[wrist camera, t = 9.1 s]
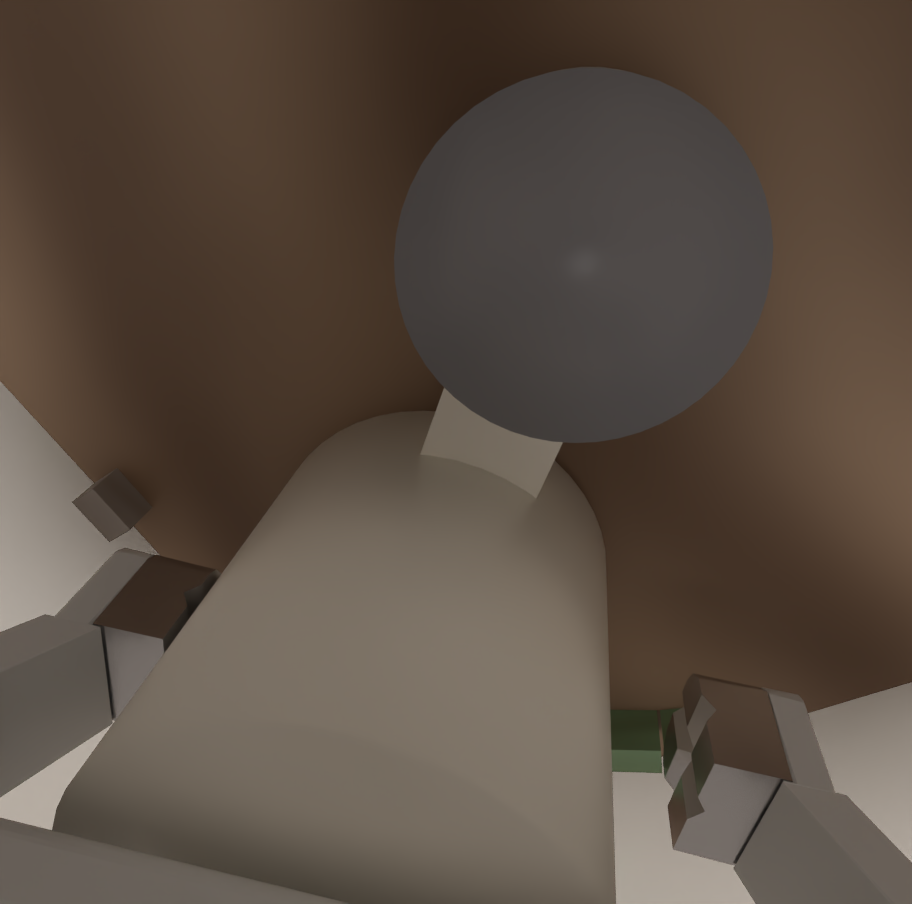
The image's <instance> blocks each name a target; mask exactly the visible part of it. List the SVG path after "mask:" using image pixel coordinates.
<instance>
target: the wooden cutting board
mask: <svg viewBox="0 0 912 904" xmlns="http://www.w3.org/2000/svg"><path fill="white" fill-rule="evenodd" d="M576 67H606V68H612V69H619V70H624V71H628V72H632V73H636V74H639V75H642V76H646V77H649V78H652V79H655V80H659V81H661V82H663V83H665V84H667V85H669V86H671V87H673V88H675V89H677V90H680V91H682V92H684V93H685V94H687V95H688V96H690V97H691V98H693V99H694V100H695V101H697V102H698V103H700V104H701V105H703V106H704V107H706V108H707V109H708V110H709V111H710V112H711V113H712V114H713V115H714V116H715V117H717V118H718V119H719V120H720V121H721V122H722V123H723V124H724V125H725V126H726V127H727V128H728V129H729V131H730V132H731V133H732V135H733V136H734V137H735V138H736V140H737V141H738V142H739V143H740V145H741V146H742V147H743V149H744V151H745V152H746V154H747V156H748V158H749V159H750V161H751V163H752V165H753V166H754V168H755V170H756V172H757V175H758V177H759V180H760V183H761V185H762V188H763V190H764V193H765V196H766V200H767V204H768V209H769V213H770V218H771V225H772V237H773V259H772V273H771V278H770V283H769V289H768V294H767V298H766V301H765V304H764V307H763V310H762V313H761V316H760V319H759V321H758V323H757V325H756V327H755V329H754V332H753V334H752V336H751V338H750V340H749V342H748V344H747V345H746V347H745V348H744V350H743V351H742V353H741V354H740V356H739V357H738V359H737V360H736V362H735V363H734V365H733V366H732V367H731V368H730V369H729V370H728V372H727V373H726V374H725V375H724V376H723V377H722V379H721V380H720V381H719V382H718V383H717V384H716V385H715V386H714V387H713V388H712V389H711V390H709V391H708V392H707V393H706V394H705V395H704V396H703V397H702V398H701V399H699V400H698V401H697V402H695V403H694V404H692V405H691V406H690V407H688V408H687V409H685V410H684V411H683V412H681V413H679V414H678V415H676V416H674V417H672V418H670V419H669V420H667V421H665V422H663V423H661V424H659V425H657V426H654V427H652V428H649V429H647V430H644V431H642V432H639V433H636V434H632V435H629V436H625V437H622V438H618V439H612V440H606V441H600V442H586V443H566V442H563V443H562V445H561V447H560V450H559V452H558V454H557V456H556V458H555V461H556V462H557V463H558V464H559V465H560V466H561V467H562V468H563V469H564V470H565V471H566V472H567V473H568V474H569V476H570V477H571V478H572V479H573V480H574V482H575V483H576V484H577V486H578V487H579V488H580V490H581V491H582V492H583V494H584V495H585V497H586V499H587V501H588V502H589V504H590V506H591V508H592V510H593V511H594V514H595V516H596V519H597V521H598V524H599V527H600V529H601V532H602V537H603V542H604V547H605V555H606V580H607V614H608V648H609V682H610V716H611V750H612V772H647V773H662V763H661V757H662V756H663V754H664V743H665V737H666V731H667V728H668V725H669V722H670V720H671V717H672V714H673V713H674V712H676V711H677V710H679V709H681V708H683V707H684V702H683V695H682V691H683V688H684V686H685V684H686V682H687V679H688V678H689V677H690V676H691V675H692V674H693V673H694V674H699V675H703V676H708V677H713V678H718V679H723V680H727V681H732V682H737V683H742V684H746V685H751V686H756V687H759V688H768V689H773V690H778V691H783V692H788V693H792V694H797V695H799V696H800V697H801V698H802V700H803V701H804V703H805V706H806V709H807V712H808V713H809V712H813V711H816V710H820V709H823V708H826V707H830V706H833V705H836V704H840V703H843V702H846V701H850V700H853V699H856V698H860V697H863V696H866V695H870V694H873V693H876V692H880V691H883V690H887V689H890V688H893V687H897V686H900V685H903V684H907V683H910V682H912V0H0V381H1V382H2V383H3V384H4V386H5V387H6V388H7V389H8V390H9V391H10V392H11V393H12V394H13V395H14V396H15V398H16V399H17V400H18V401H19V402H20V403H21V404H22V405H23V406H24V407H25V408H26V410H27V411H28V412H29V413H30V414H31V415H32V416H33V417H34V418H35V419H36V420H37V421H38V423H39V424H40V425H41V426H42V427H43V428H44V429H45V430H46V431H47V432H48V433H49V435H50V436H51V437H52V438H53V439H54V440H55V441H56V442H57V443H58V444H59V445H60V447H61V448H62V449H63V450H64V451H65V452H66V453H67V454H68V455H69V456H70V457H71V459H72V460H73V461H74V462H75V463H76V464H77V465H78V466H79V467H80V468H81V469H82V471H83V472H84V473H85V474H86V475H87V476H88V477H89V478H90V479H91V480H92V481H93V482H94V484H93V485H92V486H91V487H90V488H88V489H87V490H86V491H85V492H84V493H82V494H81V495H80V496H79V497H78V498H77V499H75V500H74V501H73V502H72V503H73V504H74V505H75V506H76V507H77V508H78V509H79V510H80V511H81V512H82V513H83V514H84V515H85V516H86V517H87V519H88V520H89V521H90V522H91V523H92V524H93V525H94V526H95V527H96V528H97V529H98V530H99V531H100V532H101V533H102V535H103V536H104V537H105V538H106V539H107V540H108V541H109V542H110V541H112V540H114V539H115V538H117V537H119V536H120V535H122V534H124V533H125V532H127V531H129V530H130V529H131V528H132V527H133V526H134V527H135V528H136V529H137V530H138V532H139V533H140V534H141V535H142V536H143V537H144V538H145V539H146V540H147V541H148V542H149V543H150V545H151V546H152V547H153V548H154V549H155V550H156V551H157V552H158V553H159V554H160V555H161V556H163V557H167V558H172V559H176V560H180V561H184V562H188V563H192V564H196V565H200V566H204V567H208V568H213V569H217V570H218V571H219V572H220V573H221V574H222V573H223V571H224V570H225V568H226V567H227V566H228V564H229V563H230V562H231V560H232V559H233V557H234V556H235V555H236V553H237V552H238V551H239V549H240V548H241V546H242V545H243V544H244V542H245V541H246V540H247V538H248V537H249V535H250V534H251V533H252V531H253V530H254V528H255V527H256V526H257V524H258V523H259V522H260V520H261V519H262V517H263V516H264V515H265V513H266V512H267V511H268V509H269V508H270V506H271V505H272V504H273V502H274V501H275V499H276V498H277V497H278V495H279V494H280V493H281V491H282V490H283V488H284V487H285V486H286V484H287V483H288V482H289V480H290V479H291V477H292V476H293V475H294V473H295V472H296V470H297V469H298V468H299V467H300V465H301V464H302V463H303V461H304V460H305V459H306V458H307V456H308V455H309V454H311V453H312V452H313V451H314V450H315V449H316V448H317V447H318V446H319V445H320V444H321V443H323V442H324V441H325V440H327V439H328V438H330V437H331V436H333V435H334V434H336V433H337V432H339V431H341V430H343V429H345V428H347V427H349V426H351V425H353V424H355V423H358V422H361V421H364V420H367V419H370V418H373V417H376V416H380V415H386V414H391V413H396V412H407V411H436V409H437V406H438V403H439V401H440V398H441V395H442V392H443V389H444V387H443V386H442V385H441V384H440V383H439V382H438V380H437V379H436V378H435V376H434V375H433V374H432V373H431V371H430V370H429V369H428V368H427V366H426V365H425V363H424V362H423V360H422V358H421V357H420V355H419V353H418V352H417V350H416V348H415V347H414V344H413V342H412V340H411V338H410V335H409V333H408V331H407V329H406V326H405V323H404V320H403V317H402V313H401V310H400V307H399V303H398V297H397V291H396V285H395V271H394V253H395V241H396V233H397V228H398V223H399V219H400V214H401V210H402V207H403V204H404V202H405V199H406V196H407V193H408V191H409V188H410V186H411V184H412V182H413V180H414V178H415V176H416V174H417V172H418V170H419V168H420V166H421V164H422V163H423V161H424V160H425V158H426V157H427V156H428V154H429V153H430V151H431V150H432V148H433V147H434V146H435V144H436V143H437V142H438V141H439V139H440V138H441V137H442V136H443V135H444V134H445V133H446V132H447V131H448V130H449V128H450V127H451V126H452V125H453V124H454V123H455V122H456V121H458V120H459V119H460V118H461V117H462V116H463V115H465V114H466V113H467V112H468V111H469V110H471V109H472V108H473V107H474V106H476V105H477V104H479V103H480V102H482V101H484V100H485V99H487V98H488V97H490V96H491V95H493V94H495V93H496V92H498V91H500V90H502V89H504V88H507V87H509V86H511V85H513V84H515V83H518V82H520V81H522V80H525V79H529V78H532V77H535V76H539V75H542V74H545V73H549V72H553V71H558V70H563V69H569V68H576Z"/></svg>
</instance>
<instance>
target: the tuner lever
mask: <svg viewBox="0 0 912 904" xmlns="http://www.w3.org/2000/svg"><path fill="white" fill-rule="evenodd" d="M772 259H773V237H772V225H771V218H770V213H769V209H768V204H767V200H766V196H765V193H764V190H763V188H762V185H761V183H760V180H759V177H758V175H757V172H756V170H755V168H754V166H753V165H752V163H751V161H750V159H749V158H748V156H747V154H746V152H745V151H744V149H743V147H742V146H741V145H740V143H739V142H738V141H737V140H736V138H735V137H734V136H733V135H732V133H731V132H730V131H729V129H728V128H727V127H726V126H725V125H724V124H723V123H722V122H721V121H720V120H719V119H718V118H717V117H715V116H714V115H713V114H712V113H711V112H710V111H709V110H708V109H707V108H706V107H704V106H703V105H701V104H700V103H698V102H697V101H695V100H694V99H693V98H691V97H690V96H688V95H687V94H685V93H684V92H682V91H680V90H677V89H675V88H673V87H671V86H669V85H667V84H665V83H663V82H661V81H659V80H655V79H652V78H649V77H646V76H642V75H639V74H636V73H632V72H628V71H624V70H619V69H612V68H606V67H576V68H569V69H563V70H558V71H553V72H549V73H545V74H542V75H539V76H535V77H532V78H529V79H525V80H522V81H520V82H518V83H515V84H513V85H511V86H509V87H507V88H504V89H502V90H500V91H498V92H496V93H495V94H493V95H491V96H490V97H488V98H487V99H485V100H484V101H482V102H480V103H479V104H477V105H476V106H474V107H473V108H472V109H471V110H469V111H468V112H467V113H466V114H465V115H463V116H462V117H461V118H460V119H459V120H458V121H456V122H455V123H454V124H453V125H452V126H451V127H450V128H449V130H448V131H447V132H446V133H445V134H444V135H443V136H442V137H441V138H440V139H439V141H438V142H437V143H436V144H435V146H434V147H433V148H432V150H431V151H430V153H429V154H428V156H427V157H426V158H425V160H424V161H423V163H422V164H421V166H420V168H419V170H418V172H417V174H416V176H415V178H414V180H413V182H412V184H411V186H410V188H409V191H408V193H407V196H406V199H405V202H404V204H403V207H402V210H401V214H400V219H399V223H398V228H397V233H396V241H395V253H394V271H395V285H396V291H397V297H398V303H399V307H400V310H401V313H402V317H403V320H404V323H405V326H406V329H407V331H408V333H409V335H410V338H411V340H412V342H413V344H414V347H415V348H416V350H417V352H418V353H419V355H420V357H421V358H422V360H423V362H424V363H425V365H426V366H427V368H428V369H429V370H430V371H431V373H432V374H433V375H434V376H435V378H436V379H437V380H438V382H439V383H440V384H441V385H442V386H443V387H444V389H443V392H442V395H441V398H440V401H439V403H438V406H437V409H436V411H407V412H396V413H391V414H386V415H380V416H376V417H373V418H370V419H367V420H364V421H361V422H358V423H355V424H353V425H351V426H349V427H347V428H345V429H343V430H341V431H339V432H337V433H336V434H334V435H333V436H331V437H330V438H328V439H327V440H325V441H324V442H323V443H321V444H320V445H319V446H318V447H317V448H316V449H315V450H314V451H313V452H312V453H311V454H309V455H308V456H307V458H306V459H305V460H304V461H303V463H302V464H301V465H300V467H299V468H298V469H297V470H296V472H295V473H294V475H293V476H292V477H291V479H290V480H289V482H288V483H287V484H286V486H285V487H284V488H283V490H282V491H281V493H280V494H279V495H278V497H277V498H276V499H275V501H274V502H273V504H272V505H271V506H270V508H269V509H268V511H267V512H266V513H265V515H264V516H263V517H262V519H261V520H260V522H259V523H258V524H257V526H256V527H255V528H254V530H253V531H252V533H251V534H250V535H249V537H248V538H247V540H246V541H245V542H244V544H243V545H242V546H241V548H240V549H239V551H238V552H237V553H236V555H235V556H234V557H233V559H232V560H231V562H230V563H229V564H228V566H227V567H226V568H225V570H224V571H223V573H222V574H221V575H220V577H219V578H218V580H217V581H216V582H215V584H214V585H213V586H212V588H211V589H210V591H209V592H208V593H207V595H206V596H205V597H204V599H203V600H202V602H201V603H200V604H199V606H198V607H197V609H196V610H195V611H194V613H193V614H192V615H191V617H190V618H189V620H188V621H187V622H186V624H185V625H184V626H183V628H182V629H181V631H180V632H179V633H178V635H177V636H176V638H175V639H174V640H173V642H172V643H171V644H170V646H169V647H168V649H167V650H166V651H165V653H164V654H163V655H162V657H161V658H160V660H159V661H158V662H157V664H156V665H155V667H154V668H153V669H152V671H151V672H150V673H149V675H148V676H147V678H146V679H145V680H144V682H143V683H142V684H141V686H140V687H139V689H138V690H137V691H136V693H135V694H134V696H133V697H132V698H131V700H130V701H129V702H128V704H127V705H126V707H125V708H124V709H123V711H122V712H121V713H120V715H119V716H118V718H117V719H116V720H115V722H114V723H113V725H112V726H111V727H110V729H109V730H108V731H107V733H106V734H105V736H104V737H103V738H102V740H101V741H100V742H99V744H98V745H97V747H96V748H95V749H94V751H93V752H92V754H91V755H90V756H89V758H88V759H87V760H86V762H85V763H84V765H83V766H82V767H81V769H80V770H79V771H78V773H77V774H76V776H75V777H74V778H73V780H72V781H71V782H70V784H69V785H68V787H67V788H66V790H65V792H64V794H63V796H62V798H61V800H60V802H59V805H58V807H57V809H56V814H55V819H54V823H53V828H52V831H56V832H61V833H65V834H69V835H73V836H77V837H81V838H85V839H89V840H93V841H97V842H101V843H106V844H110V845H114V846H118V847H122V848H126V849H130V850H134V851H138V852H142V853H146V854H150V855H155V856H159V857H163V858H167V859H171V860H175V861H179V862H183V863H187V864H191V865H195V866H200V867H204V868H208V869H212V870H216V871H220V872H224V873H228V874H232V875H236V876H240V877H244V878H249V879H253V880H257V881H261V882H265V883H269V884H273V885H277V886H281V887H285V888H289V889H293V890H297V891H301V892H305V893H310V894H314V895H318V896H322V897H326V898H330V899H334V900H338V901H342V902H346V903H350V904H616V887H615V853H614V819H613V785H612V750H611V716H610V682H609V648H608V614H607V580H606V555H605V547H604V542H603V537H602V532H601V529H600V527H599V524H598V521H597V519H596V516H595V514H594V511H593V510H592V508H591V506H590V504H589V502H588V501H587V499H586V497H585V495H584V494H583V492H582V491H581V490H580V488H579V487H578V486H577V484H576V483H575V482H574V480H573V479H572V478H571V477H570V476H569V474H568V473H567V472H566V471H565V470H564V469H563V468H562V467H561V466H560V465H559V464H558V463H557V462H556V461H555V458H556V456H557V454H558V452H559V450H560V447H561V445H562V443H563V442H566V443H586V442H600V441H606V440H612V439H618V438H622V437H625V436H629V435H632V434H636V433H639V432H642V431H644V430H647V429H649V428H652V427H654V426H657V425H659V424H661V423H663V422H665V421H667V420H669V419H670V418H672V417H674V416H676V415H678V414H679V413H681V412H683V411H684V410H685V409H687V408H688V407H690V406H691V405H692V404H694V403H695V402H697V401H698V400H699V399H701V398H702V397H703V396H704V395H705V394H706V393H707V392H708V391H709V390H711V389H712V388H713V387H714V386H715V385H716V384H717V383H718V382H719V381H720V380H721V379H722V377H723V376H724V375H725V374H726V373H727V372H728V370H729V369H730V368H731V367H732V366H733V365H734V363H735V362H736V360H737V359H738V357H739V356H740V354H741V353H742V351H743V350H744V348H745V347H746V345H747V344H748V342H749V340H750V338H751V336H752V334H753V332H754V329H755V327H756V325H757V323H758V321H759V319H760V316H761V313H762V310H763V307H764V304H765V301H766V298H767V294H768V289H769V283H770V278H771V273H772Z"/></svg>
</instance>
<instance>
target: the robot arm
mask: <svg viewBox="0 0 912 904" xmlns="http://www.w3.org/2000/svg"><path fill="white" fill-rule="evenodd" d="M220 575H221V573H220V572H219V571H218V570H217V569H213V568H208V567H204V566H200V565H196V564H192V563H188V562H184V561H180V560H176V559H172V558H167V557H163V556H159V555H152V554H148V553H144V552H140V551H136V550H132V549H128V548H123V549H121V550H118V551H116V552H115V553H114V554H113V555H112V556H111V557H110V558H109V559H108V560H107V561H106V562H105V563H104V564H103V565H102V567H101V568H100V569H99V570H98V571H97V572H96V573H95V574H94V575H93V576H92V577H91V578H90V579H89V580H88V581H87V582H86V584H85V585H84V586H83V587H82V588H81V589H80V590H79V591H78V592H77V593H76V594H75V595H74V596H73V597H72V598H71V600H70V601H69V602H68V603H67V604H66V605H65V606H64V607H63V608H62V609H61V610H60V611H59V612H58V613H57V614H56V615H55V616H50V615H42V616H40V617H37V618H35V619H32V620H30V621H27V622H25V623H22V624H20V625H17V626H15V627H12V628H10V629H7V630H5V631H2V632H0V797H1V796H3V795H4V794H6V793H7V792H9V791H11V790H12V789H14V788H15V787H17V786H18V785H20V784H21V783H23V782H24V781H26V780H27V779H29V778H30V777H32V776H33V775H35V774H36V773H38V772H40V771H41V770H43V769H44V768H46V767H47V766H49V765H50V764H52V763H53V762H55V761H56V760H58V759H59V758H61V757H62V756H64V755H65V754H67V753H69V752H70V751H72V750H73V749H75V748H76V747H78V746H79V745H81V744H82V743H84V742H85V741H87V740H88V739H90V738H91V737H93V736H94V735H96V734H97V733H99V732H101V731H102V730H104V729H105V728H107V727H108V726H110V725H111V724H112V723H113V722H112V720H114V721H115V720H116V719H117V718H118V716H119V715H120V713H121V712H122V711H123V709H124V708H125V707H126V705H127V704H128V702H129V701H130V700H131V698H132V697H133V696H134V694H135V693H136V691H137V690H138V689H139V687H140V686H141V684H142V683H143V682H144V680H145V679H146V678H147V676H148V675H149V673H150V672H151V671H152V669H153V668H154V667H155V665H156V664H157V662H158V661H159V660H160V658H161V657H162V655H163V654H164V653H165V651H166V650H167V649H168V647H169V646H170V644H171V643H172V642H173V640H174V639H175V638H176V636H177V635H178V633H179V632H180V631H181V629H182V628H183V626H184V625H185V624H186V622H187V621H188V620H189V618H190V617H191V615H192V614H193V613H194V611H195V610H196V609H197V607H198V606H199V604H200V603H201V602H202V600H203V599H204V597H205V596H206V595H207V593H208V592H209V591H210V589H211V588H212V586H213V585H214V584H215V582H216V581H217V580H218V578H219V577H220ZM682 695H683V702H684V707H683V708H681V709H679V710H677V711H676V712H674V713H673V714H672V717H671V720H670V722H669V725H668V728H667V731H666V737H665V743H664V754H663V764H664V775H665V779H666V780H667V782H668V783H669V784H670V786H671V787H672V788H673V790H674V793H673V795H672V798H671V800H670V802H669V804H668V812H669V820H670V829H671V837H672V845H673V849H674V850H677V851H681V852H685V853H689V854H693V855H696V856H700V857H704V858H708V859H712V860H716V861H719V862H723V863H727V864H731V865H735V867H734V870H735V871H736V873H737V875H738V876H739V878H740V879H741V881H742V883H743V884H744V886H745V887H746V889H747V890H748V892H749V894H750V895H751V897H752V898H753V900H754V902H755V903H756V904H912V863H911V862H910V860H909V859H908V858H907V857H906V856H905V855H904V854H903V853H902V852H901V851H900V850H899V849H898V848H897V847H896V846H895V845H894V844H893V843H892V842H891V841H890V840H889V839H888V838H887V837H886V836H885V835H884V834H883V833H882V832H881V831H880V830H879V829H878V827H877V826H876V825H875V824H874V823H873V822H872V821H871V820H870V819H869V818H868V817H867V816H866V815H865V814H864V813H863V812H862V811H861V810H860V809H859V808H858V807H857V806H856V805H855V804H854V803H853V802H852V801H851V800H850V799H849V798H848V797H847V796H846V795H843V794H839V793H835V790H834V787H833V784H832V781H831V779H830V776H829V773H828V770H827V767H826V764H825V761H824V758H823V755H822V752H821V750H820V747H819V744H818V741H817V738H816V735H815V732H814V729H813V726H812V724H811V721H810V718H809V715H808V712H807V709H806V706H805V703H804V701H803V700H802V698H801V697H800V696H799V695H797V694H792V693H788V692H783V691H778V690H773V689H768V688H759V687H756V686H751V685H746V684H742V683H737V682H732V681H727V680H723V679H718V678H713V677H708V676H703V675H699V674H694V673H693V674H692V675H691V676H690V677H689V678H688V679H687V682H686V684H685V686H684V688H683V691H682ZM0 904H350V903H346V902H342V901H338V900H334V899H330V898H326V897H322V896H318V895H314V894H310V893H305V892H301V891H297V890H293V889H289V888H285V887H281V886H277V885H273V884H269V883H265V882H261V881H257V880H253V879H249V878H244V877H240V876H236V875H232V874H228V873H224V872H220V871H216V870H212V869H208V868H204V867H200V866H195V865H191V864H187V863H183V862H179V861H175V860H171V859H167V858H163V857H159V856H155V855H150V854H146V853H142V852H138V851H134V850H130V849H126V848H122V847H118V846H114V845H110V844H106V843H101V842H97V841H93V840H89V839H85V838H81V837H77V836H73V835H69V834H65V833H61V832H56V831H52V830H48V829H44V828H40V827H36V826H32V825H28V824H24V823H20V822H16V821H12V820H7V819H3V818H0Z"/></svg>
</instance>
